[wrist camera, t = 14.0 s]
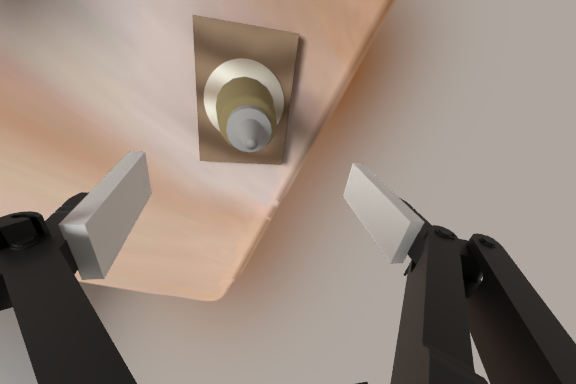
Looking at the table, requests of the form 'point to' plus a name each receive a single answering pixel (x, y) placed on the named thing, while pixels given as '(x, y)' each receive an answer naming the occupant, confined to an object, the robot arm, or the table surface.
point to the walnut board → (241, 63)
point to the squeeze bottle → (246, 114)
